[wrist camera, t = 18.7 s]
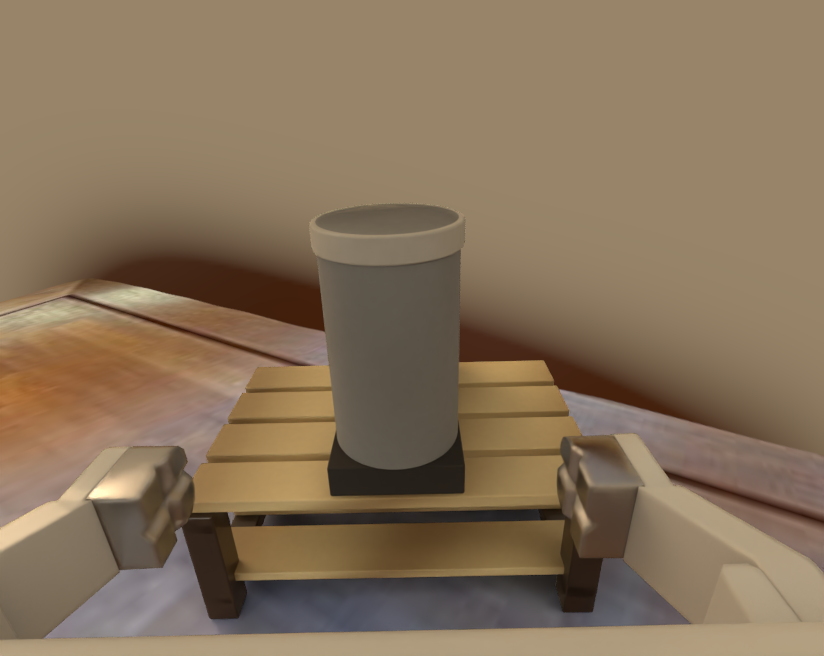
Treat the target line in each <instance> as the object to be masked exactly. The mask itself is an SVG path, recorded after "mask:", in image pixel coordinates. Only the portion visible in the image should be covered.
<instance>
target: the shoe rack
mask: <svg viewBox="0 0 824 656" xmlns="http://www.w3.org/2000/svg"><path fill="white" fill-rule="evenodd" d="M245 389H246V393H242V395H241V396H240V398H239V400H238V402H237V403H236V405H235V407H234V408H233V410H232V412H231V414H230V415H229V417H228V422H229V424H225V425H224V426H223V427H222V429H221V431H220V432H219V434H218V436H217V438H216V439H215V441H214V443H213V444H212V446H211V448H210V450H209V451H208V453H207V455H206V458H207V462H208V463H202V464H201V465H200V467H199V468H198V470H197V472H196V474H195V475H194V477H193V482H194V486H195V502H194V506H193V511H192V513H191V515H190V517H189V519H188V521H187V523H186V524H185V525H183V526H182V530H183V533H184V536H185V539H186V543H187V546H188V549H189V552H190V556H191V559H192V562H193V566H194V569H195V572H196V575H197V579H198V582H199V585H200V589H201V592H202V596H203V599H204V602H205V605H206V608H207V611H208V615H209V618H210V619H226V618H238V617H239V615H240V612H241V609H242V606H243V603H244V600H245V597H246V594H247V590H246V586H245V582H244V581H248V580H299V579H349V578H400V577H450V576H501V575H552V574H557V579H556V590H557V593H558V596H559V600H560V603H561V606H562V610H563V612H592V611H593V607H594V602H595V597H596V593H597V587H598V582H599V577H600V571H601V566H602V561H603V558H580V557H579V554H578V552H577V549H576V547H575V544H574V541H573V539H572V536H571V534H570V523H571V520H570V519H569V518H568V517H567V516H565V515H564V514H563V512H562V509H561V507H560V503H559V499H558V495H557V482H556V481H557V470H558V468H559V467H560V466H561V465H562V464H563V463H564V461H563V459H562V457H561V454H560V445H561V441H562V438H563V437H567V436H582V434H581V432H580V430H579V428H578V426H577V424H576V422H575V420H574V419H573V417H572V416H569V409H568V407H567V405H566V403H565V401H564V399H563V397H562V395H561V393H560V391H559V389H558V388H557V386H554V380H553V378H552V376H551V374H550V372H549V370H548V368H547V366H546V364H545V362H544V361H543V360H542V361H499V362H461V363H460V362H459V385H458V421H459V427H460V434H461V441H462V448H463V455H464V461H465V491H464V493H454V494H406V495H357V496H331V495H330V488H329V480H328V473H327V467H328V462H329V458H330V454H331V449H332V445H333V441H334V437H335V432H336V423H335V414H334V405H333V396H332V387H331V378H330V369H329V366H292V367H258V368H257V369H256V371H255V372H254V374H253V376H252V378H251V379H250V381H249V383H248V384H247V386H246V388H245ZM518 509H538V511H539V515H540V518H541V521H496V522H448V523H400V524H352V525H304V526H262V525H263V522H264V519H265V517H266V515H281V514H328V513H376V512H423V511H471V510H518ZM227 512H234V514H235V517H234V520H233V522H232V524H231V525H230V521H229V517H228V513H227Z"/></svg>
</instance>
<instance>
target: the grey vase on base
mask: <svg viewBox="0 0 824 656" xmlns="http://www.w3.org/2000/svg"><path fill="white" fill-rule="evenodd" d="M309 228H310V238H311V246H312V250H313V252H314V253H315V254H316V255H317V262H318V271H319V280H320V289H321V298H322V306H323V316H324V325H325V334H326V343H327V352H328V361H329V369H330V378H331V387H332V396H333V405H334V414H335V423H336V432H335V437H334V441H333V445H332V449H331V454H330V458H329V462H328V467H327V473H328V480H329V488H330V495H331V496H357V495H406V494H454V493H464V491H465V461H464V455H463V448H462V441H461V434H460V427H459V421H458V385H459V320H460V314H459V313H460V254H461V253H460V252H461V248H462V247H463V246H464V243H465V217H464V215H463V214H462V213H460V212H458V211H456V210H453V209H450V208H446V207H441V206H435V205H425V204H409V203H393V204H391V203H390V204H373V205H362V206H354V207H347V208H342V209H337V210H333V211H329V212H326V213H323V214H321V215H318V216H316V217H314V218H313V219H312V220H311V221H310V223H309Z"/></svg>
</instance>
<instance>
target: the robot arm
mask: <svg viewBox="0 0 824 656" xmlns="http://www.w3.org/2000/svg"><path fill="white" fill-rule="evenodd" d="M560 454H561V457H562V459H563V461H564V463H563V464H562V465H561V466H560V467H559V468H558V470H557V481H556V482H557V495H558V499H559V503H560V507H561V509H562V512H563V514H564V515H565V516H567V517H568V518H569V519H570V520H571V523H570V534H571V536H572V539H573V541H574V544H575V547H576V549H577V552H578V554H579V557H580V558H623V561H624V562H625V563H626V564H628V565H629V566H630V567H631V568H632V569H633V570H634V571H635V572H636V573H637V574H638V575H639V576H640V577H641V578H643V579H644V580H645V581H646V582H647V583H648V584H649V585H650V586H651V587H652V588H653V589H654V590H655V591H657V592H658V593H659V594H660V595H661V596H662V597H663V598H664V599H665V600H666V601H667V602H668V603H669V604H671V605H672V606H673V607H674V608H675V609H676V610H677V611H678V612H679V613H680V614H681V615H682V616H683V617H685V618H686V619H687V620H688V621H689V622H690V623H691V624H689V625H644V626H600V627H557V628H510V629H462V630H414V631H369V632H324V633H279V634H235V635H189V636H144V637H99V638H54V639H43V638H44V637H45V636H46V635H47V634H49V633H50V632H51V631H52V630H53V629H54V628H56V627H57V626H58V625H59V624H60V623H61V622H63V621H64V620H65V619H66V618H67V617H68V616H70V615H71V614H72V613H73V612H74V611H75V610H76V609H78V608H79V607H80V606H81V605H82V604H83V603H85V602H86V601H87V600H88V599H89V598H90V597H92V596H93V595H94V594H95V593H96V592H97V591H99V590H100V589H101V588H102V587H103V586H104V585H106V584H107V583H108V582H109V581H110V580H111V579H113V578H114V577H115V576H116V575H117V574H118V573H119V572H120V571H119V570H129V569H148V568H163V566H164V564H165V562H166V560H167V558H168V557H169V555H170V553H171V551H172V549H173V547H174V546H175V544H176V542H177V538H176V534H175V531H176V530H178V529H179V528H180V527H182V526H183V525H185V524H186V523H187V521H188V519H189V517H190V515H191V513H192V511H193V506H194V502H195V486H194V482H193V478H192V477H191V476H189V475H188V474H187V473H186V472H185V471H184V470H183V469H184V467H185V466H186V464H187V462H188V461H187V458H186V455H185V452H184V449H182V448H181V447H179V446H134V447H109V448H107V449H104V450H103V451H102V452H101V453H100V454H99V455H98V456H97V457H96V459H95V460H94V461H93V462H92V463H91V464H90V465H89V466H88V467H87V469H86V470H85V471H84V472H83V473H82V474H81V475H80V476H79V477H78V478H77V480H76V481H75V482H74V483H73V484H72V485H71V486H70V487H69V488H68V490H67V491H66V492H65V493H64V494H63V495H62V496H61V497H60V498H59V500H58V501H49V502H47V503H45V504H44V505H42V506H40V507H38V508H36V509H34V510H32V511H31V512H29V513H27V514H25V515H23V516H21V517H19V518H18V519H16V520H14V521H12V522H10V523H8V524H7V525H5V526H3V527H1V528H0V656H824V573H823V572H822V571H821V570H820V568H819V567H818V566H817V565H816V564H815V563H814V562H813V561H812V560H811V559H809V558H807V557H805V556H804V555H802V554H800V553H798V552H797V551H795V550H793V549H791V548H790V547H788V546H786V545H784V544H783V543H781V542H779V541H777V540H776V539H774V538H772V537H770V536H769V535H767V534H765V533H763V532H762V531H760V530H758V529H756V528H755V527H753V526H751V525H749V524H748V523H746V522H744V521H742V520H741V519H739V518H737V517H735V516H734V515H732V514H730V513H728V512H727V511H725V510H723V509H721V508H720V507H718V506H716V505H714V504H713V503H711V502H709V501H707V500H706V499H704V498H702V497H700V496H699V495H697V494H695V493H693V492H692V491H690V490H688V489H686V488H685V487H683V486H674V485H673V484H672V482H671V481H670V479H669V478H668V477H667V475H666V474H665V472H664V471H663V469H662V468H661V467H660V465H659V464H658V462H657V461H656V460H655V458H654V457H653V455H652V454H651V452H650V451H649V450H648V448H647V447H646V445H645V444H644V443H643V441H642V440H641V438H640V437H639V436H638V435H637V434H635V433H627V434H611V435H599V436H567V437H563V438H562V441H561V445H560Z"/></svg>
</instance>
